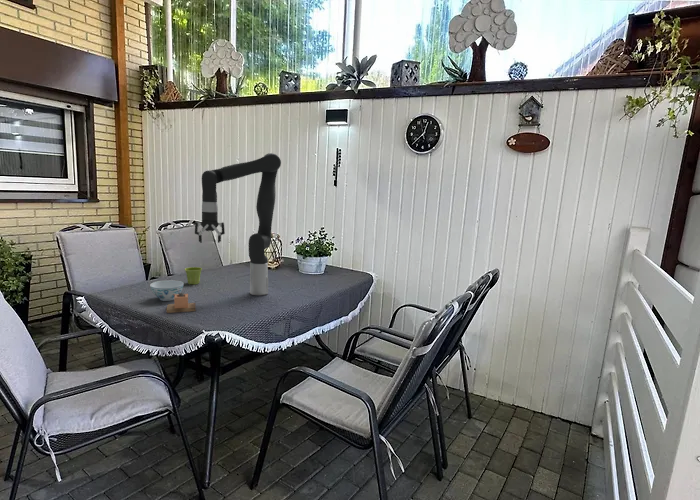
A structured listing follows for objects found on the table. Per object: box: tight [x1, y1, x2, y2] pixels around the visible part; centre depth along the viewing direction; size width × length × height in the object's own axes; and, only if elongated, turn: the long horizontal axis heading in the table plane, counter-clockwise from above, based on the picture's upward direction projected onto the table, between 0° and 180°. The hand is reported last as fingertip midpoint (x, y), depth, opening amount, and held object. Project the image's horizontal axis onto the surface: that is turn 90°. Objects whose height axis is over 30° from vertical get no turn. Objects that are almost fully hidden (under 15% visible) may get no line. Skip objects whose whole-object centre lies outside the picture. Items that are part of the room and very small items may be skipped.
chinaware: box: [149, 279, 184, 302], centre depth 191 cm, size 15×15×8 cm
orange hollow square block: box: [173, 293, 189, 308], centre depth 177 cm, size 6×6×5 cm
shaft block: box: [166, 292, 197, 314], centre depth 177 cm, size 12×8×8 cm, turn 112°
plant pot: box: [184, 266, 203, 285], centre depth 222 cm, size 9×9×9 cm
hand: (209, 242), depth 196 cm, fingers open, 8 cm apart
